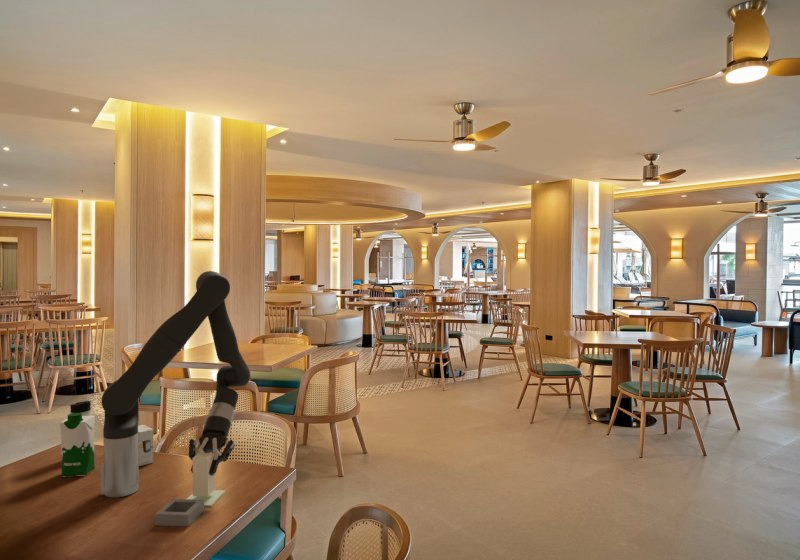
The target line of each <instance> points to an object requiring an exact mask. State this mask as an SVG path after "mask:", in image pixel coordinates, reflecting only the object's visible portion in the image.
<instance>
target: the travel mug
mask: <svg viewBox="0 0 800 560" xmlns="http://www.w3.org/2000/svg"><path fill="white" fill-rule="evenodd" d="M91 406H92V405H91V400H85V401H79V402H76V403H71V404H70V406H69V407H70V413H69V414H72V413H82V416H92V408H91Z"/></svg>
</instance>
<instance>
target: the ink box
mask: <svg viewBox="0 0 800 560" xmlns="http://www.w3.org/2000/svg"><path fill="white" fill-rule="evenodd" d="M152 463H153V464H154V429H153V428H152V427H149V426H147V425H145V424H138V467H141V466H146V465H149V464H152Z"/></svg>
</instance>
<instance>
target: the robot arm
mask: <svg viewBox="0 0 800 560" xmlns="http://www.w3.org/2000/svg"><path fill="white" fill-rule="evenodd" d="M195 289H196V291H195V293H194V294H193V296H192V297H191V298H190V300H188V302H187V303H186V304H184V307H182V308H181V309H180V310H178V311H177V312H176V313H174V314H172V315H171V316H170V317H169V318H168V319H166V320H165V321H164V322H163V323H162V324H161V325H160V326H159V327H158V328H157V329H156V330H155V331H154V333H153V334H152V335H151V336H150V337H149V339H148V340H147V341H146V343H145V344H144V345H143V346H142V349H141V350H140V351H139V353H138V354H137V356H136V358H135V359H134V361H133V362H132V364H131V365H130V366H129V367H128V369H126V371H125V372H124V373H122V374H121V376H120V377H119V378H118V379H117V380H115V381H113V382H111V383H110V384H109V385H108V386H107V388H106V389H105V390H103V391H104V392H103V394H102V396H101V406H102V409H103V410H104V422H103V430H102V433H103V436H102V439H103V441H102V442H103V461H101V462H100V495H101V496H105V497H106V498H121V497H126V496H129V495H132V494H134V493H136V492H137V491H138V490H139V478H140V477H139V466H138V426H139V415H140V414H139V406H140V403H139V402H140V401H139V400H140V397H141V395H142V394H143V392H144V391H145V390H146V389H147V387H148V386H149V384H150V383H151V382H153V380H154V378H156V377H157V375H158V374H159V373H160V372H161V371H163V370H164V369H165V368H166V367H167V366H168V365H169V364H170V363H171V362H172V360H174V358H175V357H176V356H177V355H178V354H179V352H180V351H181V350H182V349H183V348H184V347H185V345H186V344H187V342H188V341H189V340H190V339H191V338H192V336H193V335H194V334H195V333H196V332H197V330H198V329H199V327H201V325H202V324H203V322H204V321H205V320H206V319H207V318H208V322H209V326H210V330H211V335H212V340H213V344H214V349H215V353H216V356H217V359H218V361H219V362H221V363H225V364H227V365H225V366H222V367H220V368H219V369H218V371H217V373H216V387H215V390H216V391H215V397H214V399H213V403H212V405H211V408H210V410H209V412H208V414H207V418H206V420H205V424H204V427H203V429H202V434H201V436H200V437H199V438H197V439H195V440H194V439H193V438H191V439H190V440H189V443H188V444H189V445H188V457H189V459H190V460H191V461H192V458H193V457H195V456H196V455H197V454H199V453H214V460H213V461H212V464H211V467H210V470H209V474H210V475H211V476H213V475H214V474H215V475H216V473H217V470H218V468H219V467H218V466H219V464H220V463H222V462H224V463H225V462H227V459H228V458H229V457H230V455H231V454H232V452H233V450H234V448H235V447H236V444H235V442H234V441H233V439H230V440H229V439H228V436H229V433H230V430H231V425H232V423H233V421H234V416H235V410H236V406H237V403H238V400H239V393H238V392H237V391H236V390H234V389H232V388H235V387H244V386H246V385H248V384H249V381H250V379H251V372H250V368H249V366H248V365H247V363H246V362H245V359H244V357H243V355H242V354H241V351H240V349H239V344H238V340H237V336H236V333H235V329H234V327H233V325H232V324H233V323H232V322H231V319H230V317H229V314H228V310H227V307H226V302H225V300H226V299H227V297H228V296H229V295H230V291H231V284H230V282H229V280H228V278H226V276H223V275H222V274H221V273H219V272H217V271H214V270H213V271H212V270H207V271H205V272H202V273H201V274H200V275H199V276H198V277H197V280H196V281H195ZM228 364H229V365H228ZM198 445H200V446H199V448H198ZM224 446H225V447H224ZM223 447H224V449H223ZM197 448H198V449H197ZM222 449H223V450H222ZM221 450H222V452H221ZM190 471H191V474H192V475H193V463H192V464H191V467H190Z"/></svg>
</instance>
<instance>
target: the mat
mask: <svg viewBox="0 0 800 560" xmlns="http://www.w3.org/2000/svg"><path fill="white" fill-rule="evenodd" d="M226 492H227V491H226V489H225V490H223V489H222V490H221V489H215V490H214V491H213V492H212V493H211V494H210V495H209V496H193V492H192V493H191V494H190V495H189V496H188V497H187V498H186V499H192V500H204V507H206V508H207V507H210V508H211V507H213V505H215V503H216V502H218V501H219V500H220V498H221V497H222V496H223V495H224V494H225V493H226Z"/></svg>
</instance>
